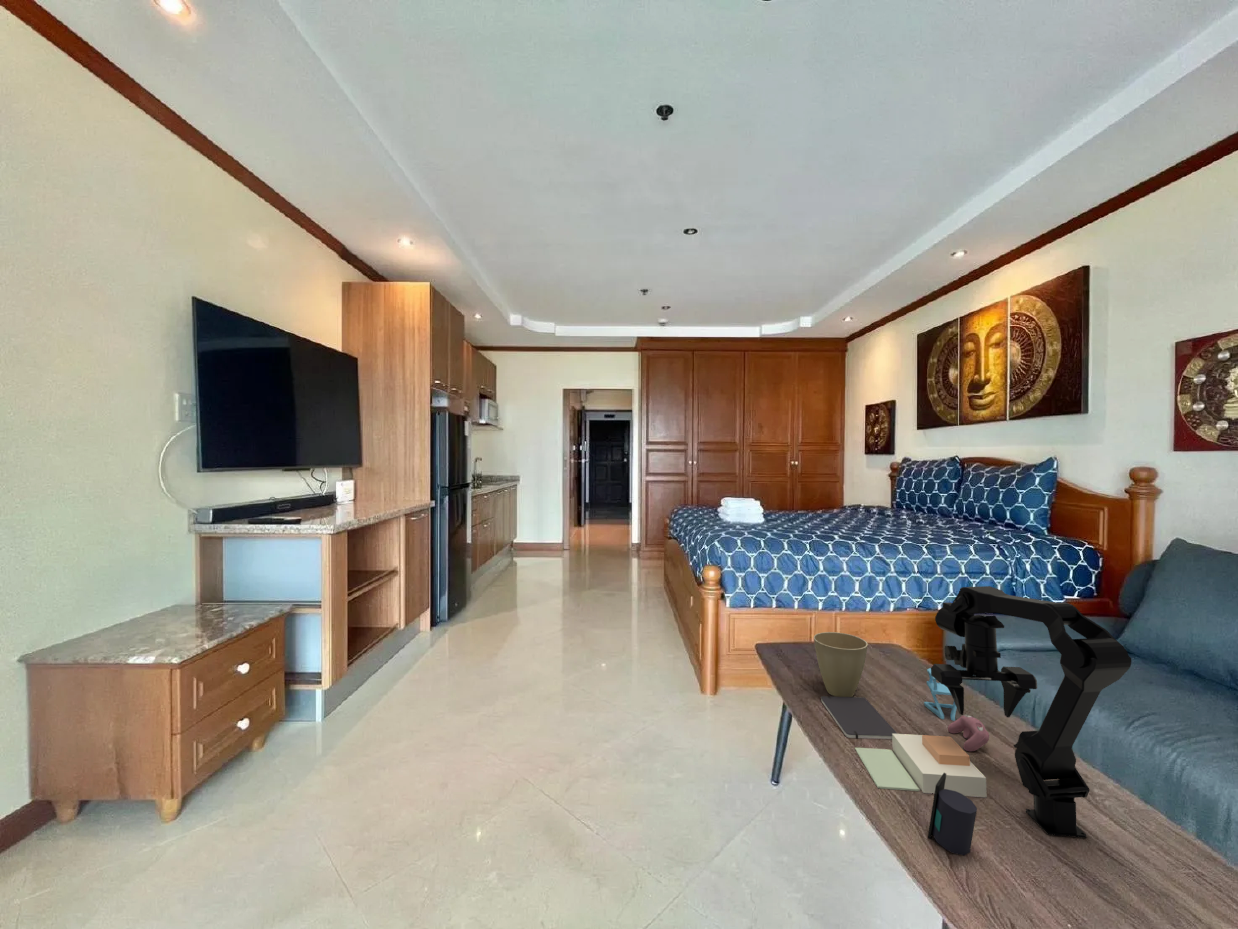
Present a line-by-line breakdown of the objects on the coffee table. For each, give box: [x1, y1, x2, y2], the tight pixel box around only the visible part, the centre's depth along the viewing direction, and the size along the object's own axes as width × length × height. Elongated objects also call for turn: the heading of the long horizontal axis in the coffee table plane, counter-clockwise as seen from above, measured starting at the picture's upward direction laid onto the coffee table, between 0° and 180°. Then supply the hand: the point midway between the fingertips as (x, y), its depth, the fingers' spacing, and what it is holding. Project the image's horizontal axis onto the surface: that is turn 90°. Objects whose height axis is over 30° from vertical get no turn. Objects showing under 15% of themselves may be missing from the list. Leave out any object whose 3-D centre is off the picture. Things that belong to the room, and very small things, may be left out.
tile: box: [921, 734, 971, 766], centre depth 110 cm, size 8×6×2 cm
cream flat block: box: [891, 733, 988, 798], centre depth 110 cm, size 16×12×4 cm
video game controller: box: [947, 714, 990, 752], centre depth 122 cm, size 10×5×7 cm, turn 169°
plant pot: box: [813, 631, 869, 697], centre depth 150 cm, size 15×15×16 cm
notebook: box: [820, 695, 898, 740], centre depth 135 cm, size 13×2×21 cm
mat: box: [854, 747, 921, 792], centre depth 112 cm, size 15×8×1 cm, turn 172°
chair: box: [923, 667, 957, 722], centre depth 137 cm, size 8×8×12 cm
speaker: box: [927, 773, 978, 856], centre depth 90 cm, size 8×6×10 cm
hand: (983, 715), depth 110 cm, fingers open, 9 cm apart
